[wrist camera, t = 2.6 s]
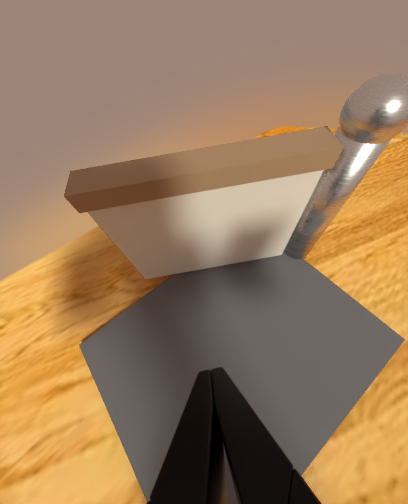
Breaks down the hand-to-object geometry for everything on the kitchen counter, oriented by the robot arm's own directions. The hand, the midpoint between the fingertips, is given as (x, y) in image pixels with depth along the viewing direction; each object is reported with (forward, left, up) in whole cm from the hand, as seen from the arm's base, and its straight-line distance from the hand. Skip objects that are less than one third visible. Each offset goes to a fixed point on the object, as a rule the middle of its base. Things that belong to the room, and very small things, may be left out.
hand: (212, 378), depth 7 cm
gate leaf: (+7, -6, -9) cm, 13 cm away
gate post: (+3, -13, -10) cm, 17 cm away
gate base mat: (+1, -2, -10) cm, 10 cm away
